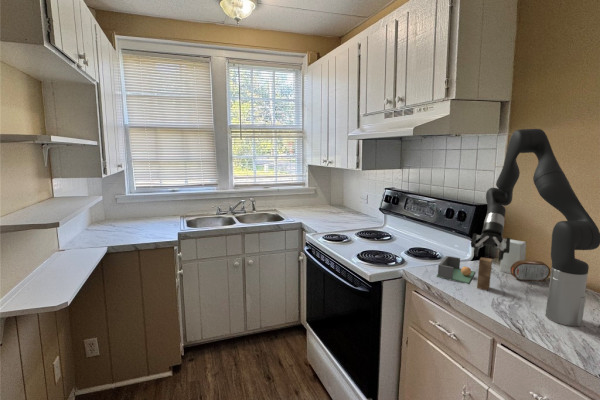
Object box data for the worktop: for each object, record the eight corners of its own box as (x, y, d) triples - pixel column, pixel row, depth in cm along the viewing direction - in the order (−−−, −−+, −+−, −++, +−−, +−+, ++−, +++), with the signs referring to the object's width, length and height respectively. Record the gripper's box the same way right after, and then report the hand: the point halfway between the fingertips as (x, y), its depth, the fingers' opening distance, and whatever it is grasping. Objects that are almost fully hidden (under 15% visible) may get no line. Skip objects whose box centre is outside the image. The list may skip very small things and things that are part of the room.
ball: (471, 275, 148) (472, 266, 147) (469, 277, 144) (470, 269, 144) (461, 273, 150) (462, 264, 149) (459, 275, 147) (460, 267, 146)
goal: (474, 272, 152) (475, 260, 151) (468, 283, 139) (469, 271, 139) (444, 266, 160) (445, 255, 159) (436, 276, 147) (437, 264, 146)
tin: (545, 279, 144) (547, 260, 143) (550, 282, 141) (552, 263, 140) (508, 278, 146) (510, 259, 145) (512, 280, 143) (514, 262, 142)
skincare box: (524, 273, 151) (527, 241, 149) (518, 276, 147) (522, 244, 145) (504, 268, 158) (507, 237, 155) (498, 270, 154) (501, 239, 152)
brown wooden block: (489, 287, 136) (492, 259, 134) (488, 290, 133) (490, 261, 131) (478, 284, 138) (481, 257, 136) (476, 288, 135) (479, 259, 133)
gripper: (474, 218, 147) (468, 250, 140) (513, 223, 139) (507, 256, 131) (475, 228, 152) (469, 259, 145) (512, 233, 144) (507, 265, 136)
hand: (487, 257), depth 138 cm, fingers open, 8 cm apart
